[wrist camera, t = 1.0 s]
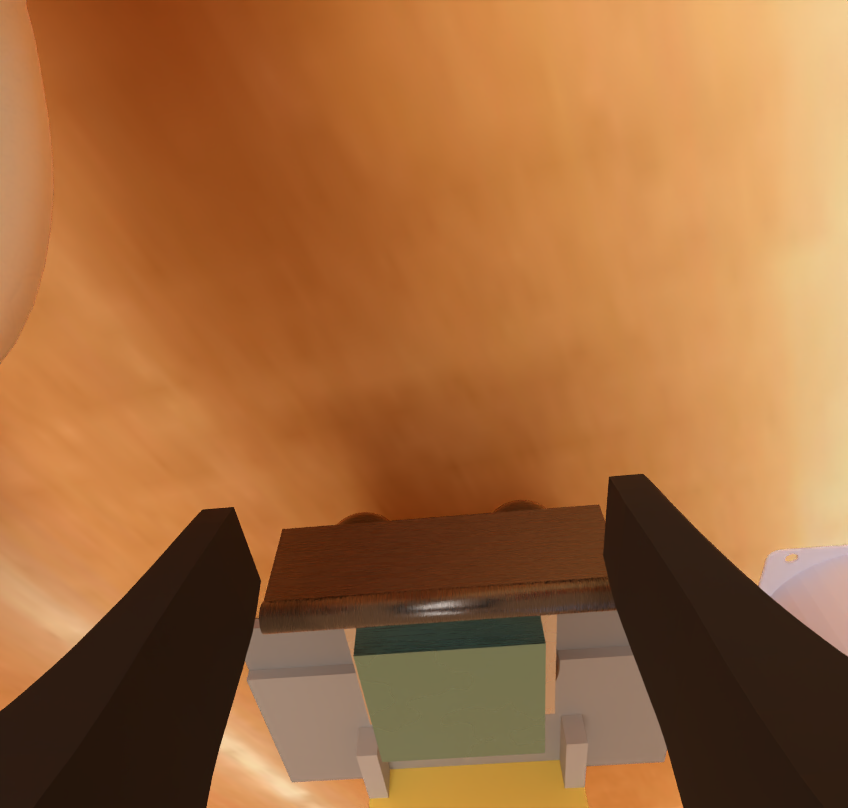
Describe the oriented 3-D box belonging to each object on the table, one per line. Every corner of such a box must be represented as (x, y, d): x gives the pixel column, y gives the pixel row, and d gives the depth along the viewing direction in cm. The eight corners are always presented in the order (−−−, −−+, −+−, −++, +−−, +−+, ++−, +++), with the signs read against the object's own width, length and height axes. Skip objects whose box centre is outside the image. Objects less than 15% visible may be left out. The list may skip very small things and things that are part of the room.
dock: (688, 588, 27) (719, 659, 24) (658, 742, 34) (679, 812, 31) (234, 620, 28) (213, 691, 25) (295, 763, 35) (283, 831, 32)
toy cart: (586, 465, 19) (631, 594, 15) (576, 648, 23) (609, 782, 19) (291, 489, 19) (256, 620, 15) (342, 663, 24) (326, 797, 20)
